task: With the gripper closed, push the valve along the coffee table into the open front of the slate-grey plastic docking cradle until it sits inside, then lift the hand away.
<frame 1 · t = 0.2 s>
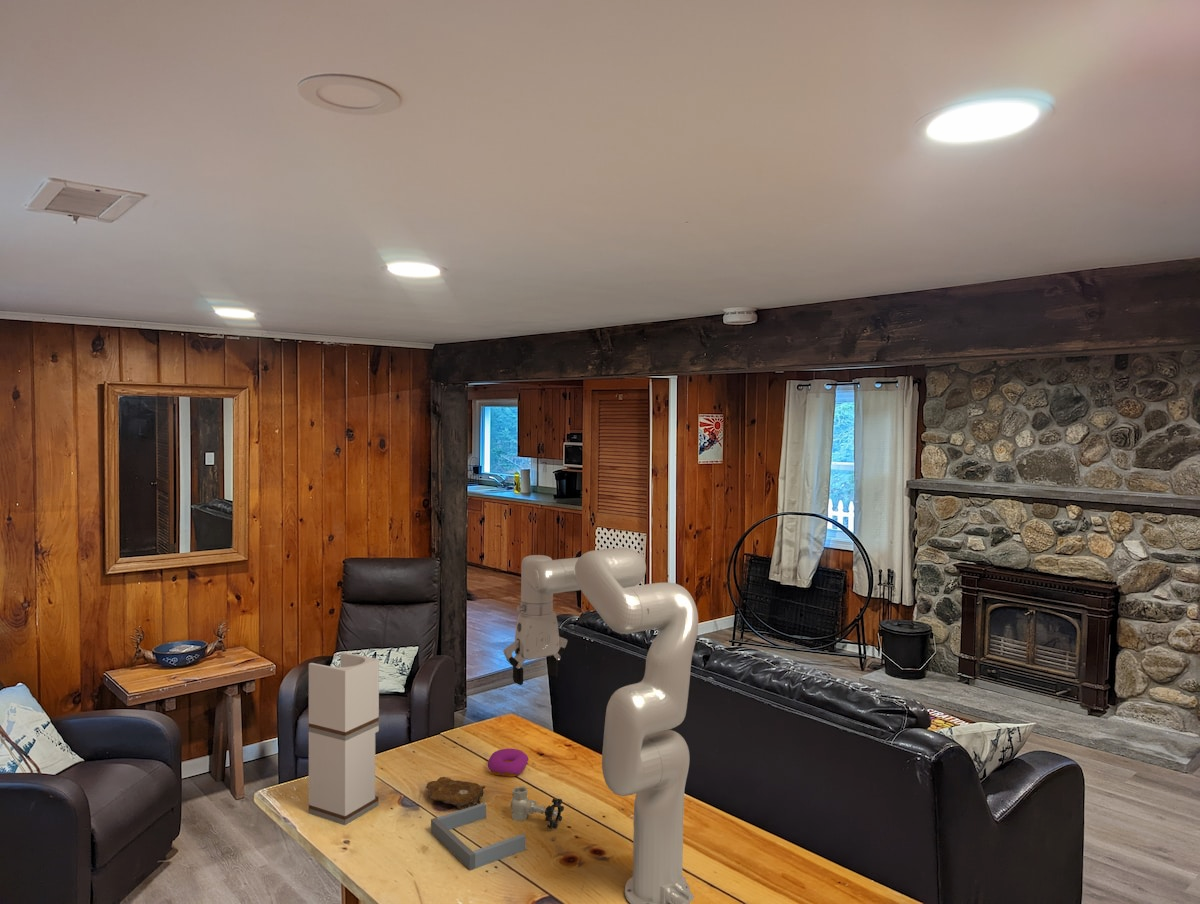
hand: (535, 679, 187), 30 cm above the table, tool pointing down, fingers open, 9 cm apart
dock cradle: (479, 840, 171), on the table
donut: (508, 771, 207), on the table
decorative rock: (452, 800, 190), on the table
valve: (534, 822, 180), on the table
banded square pillar: (344, 810, 184), on the table
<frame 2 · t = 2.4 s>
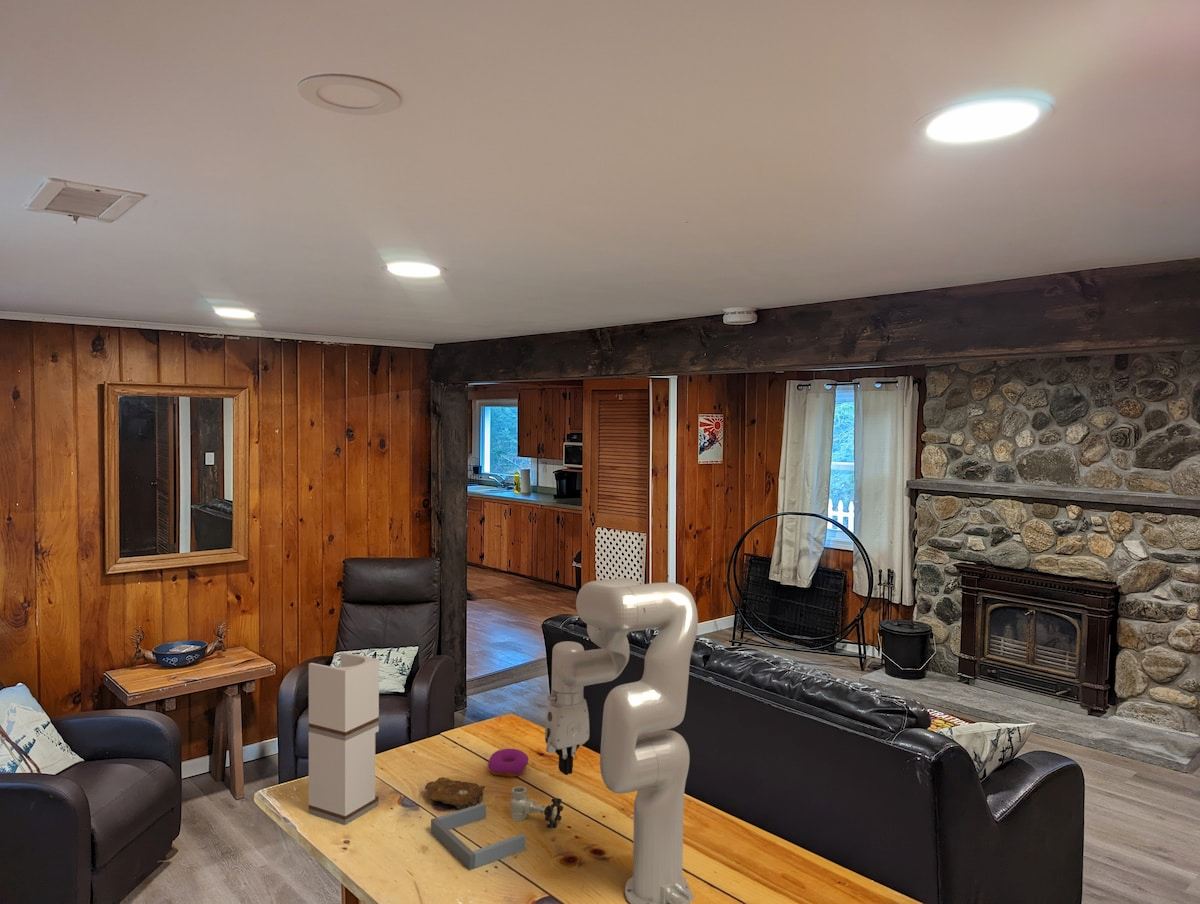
hand: (565, 772, 185), 9 cm above the table, tool pointing down, fingers closed
nothing on the table moved.
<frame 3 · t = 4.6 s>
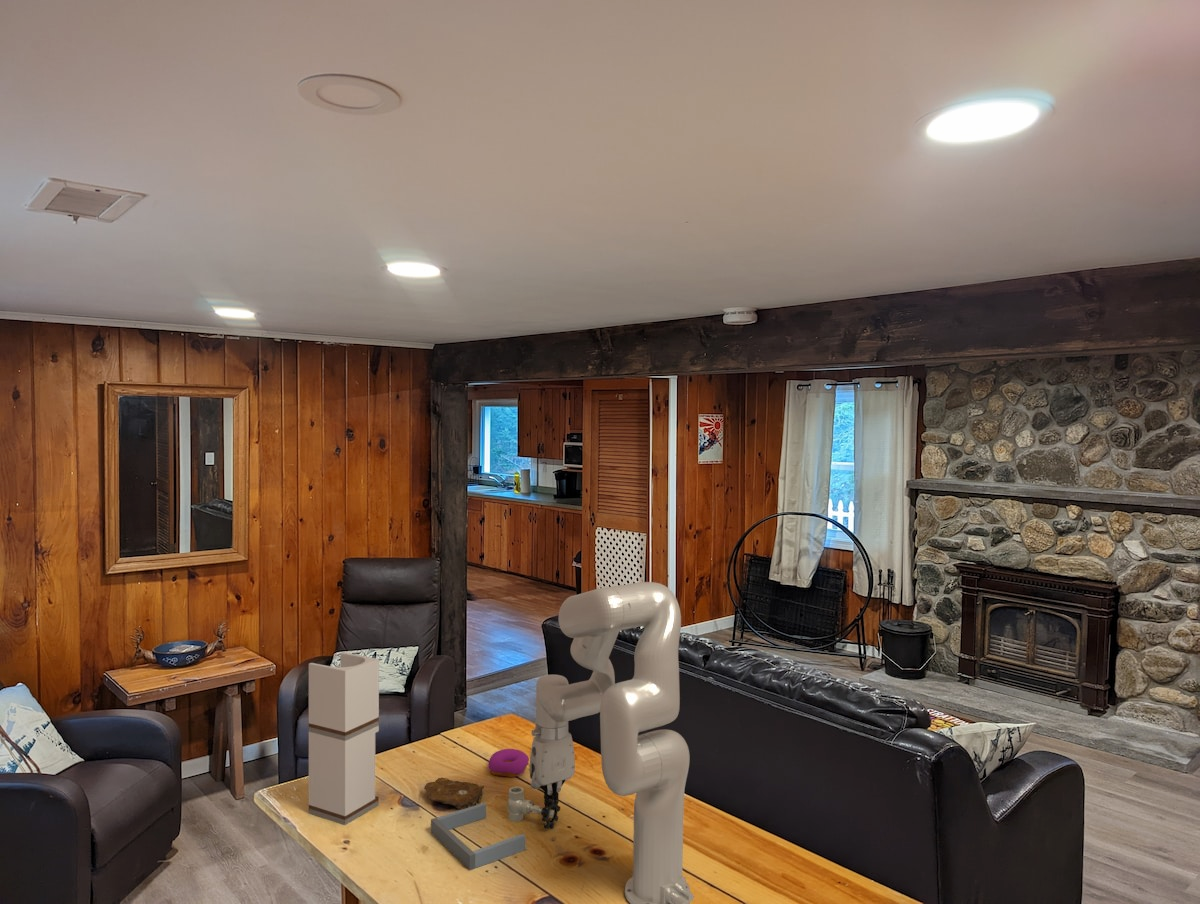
hand: (551, 808, 183), 2 cm above the table, tool pointing down, fingers closed
nothing on the table moved.
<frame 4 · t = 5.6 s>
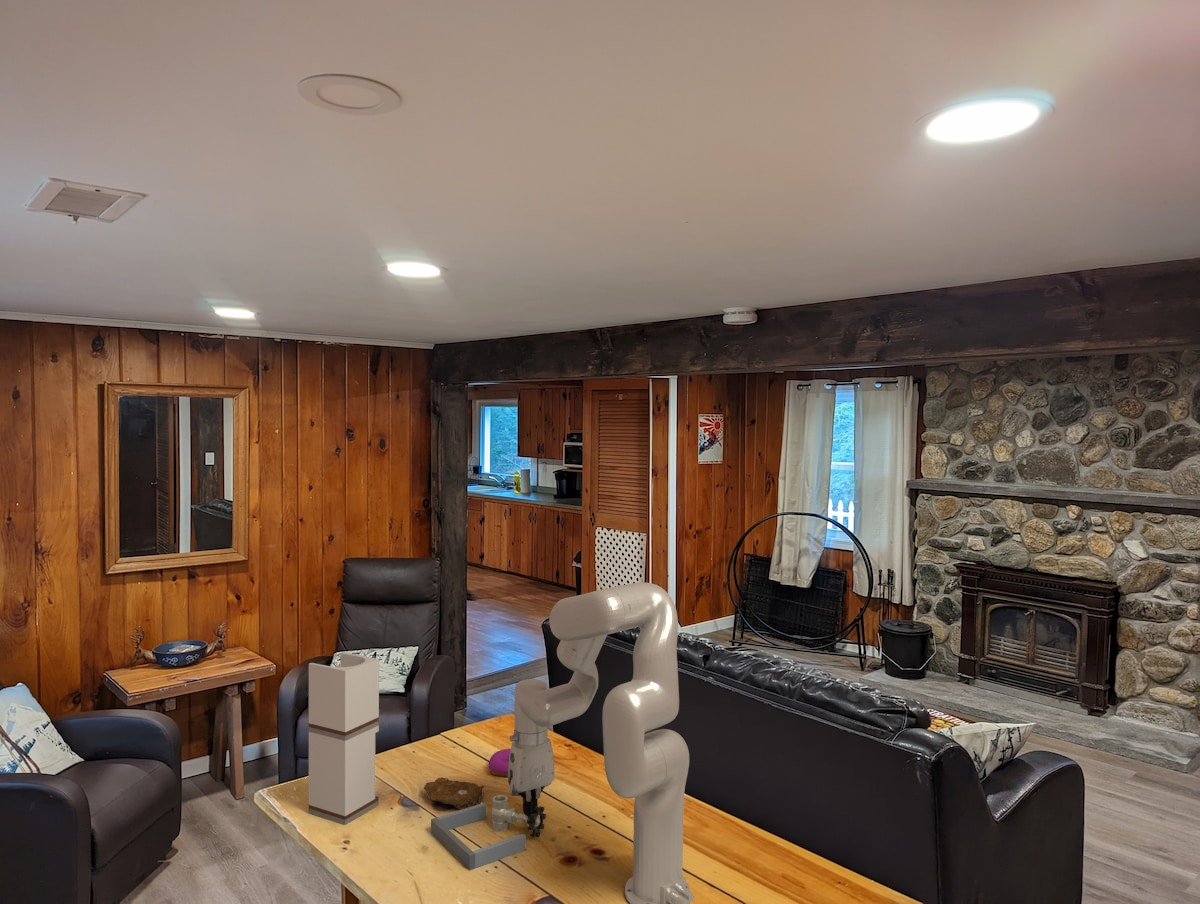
hand: (530, 815, 179), 2 cm above the table, tool pointing down, fingers closed
valve: (515, 831, 175), on the table
everything else where it was.
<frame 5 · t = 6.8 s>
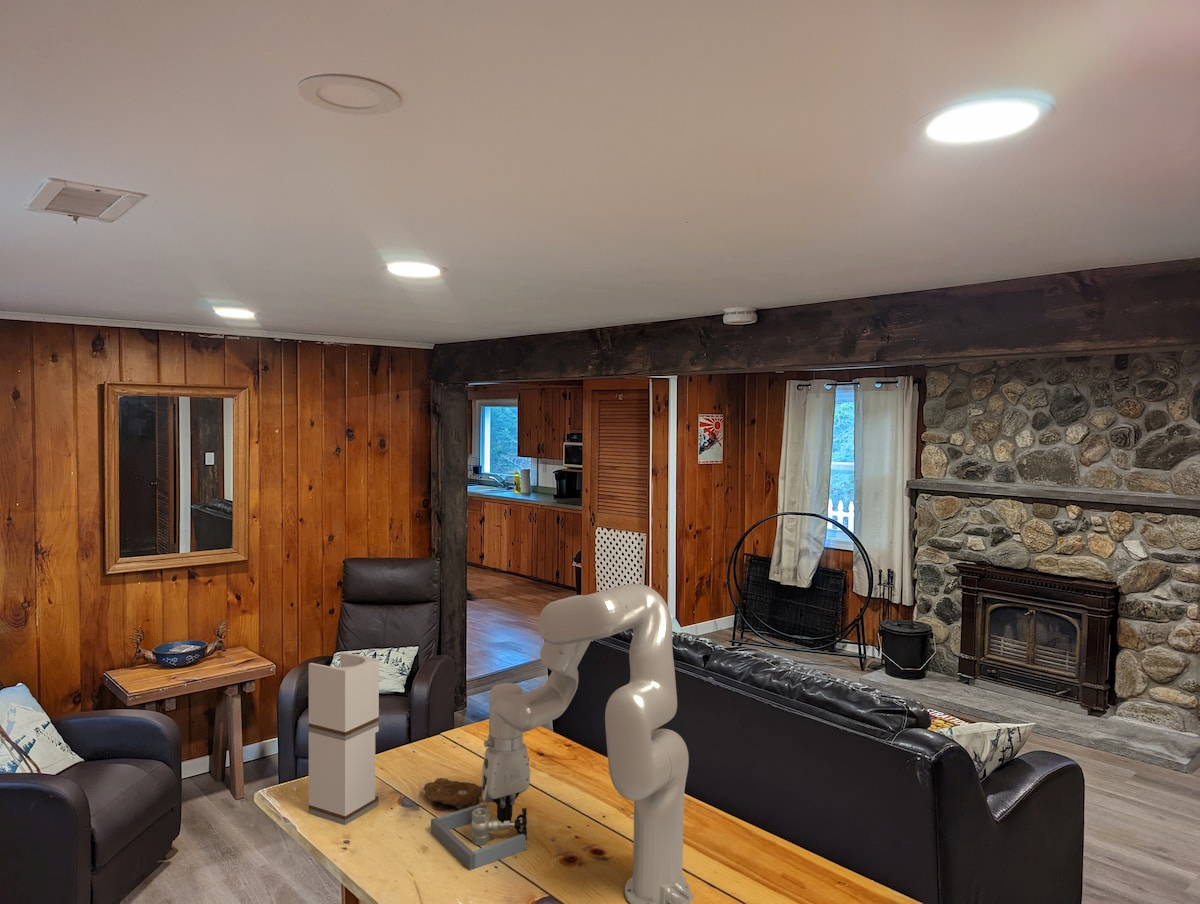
hand: (504, 821, 175), 2 cm above the table, tool pointing down, fingers closed
valve: (498, 840, 171), on the table, touching dock cradle, gripper
everything else where it was.
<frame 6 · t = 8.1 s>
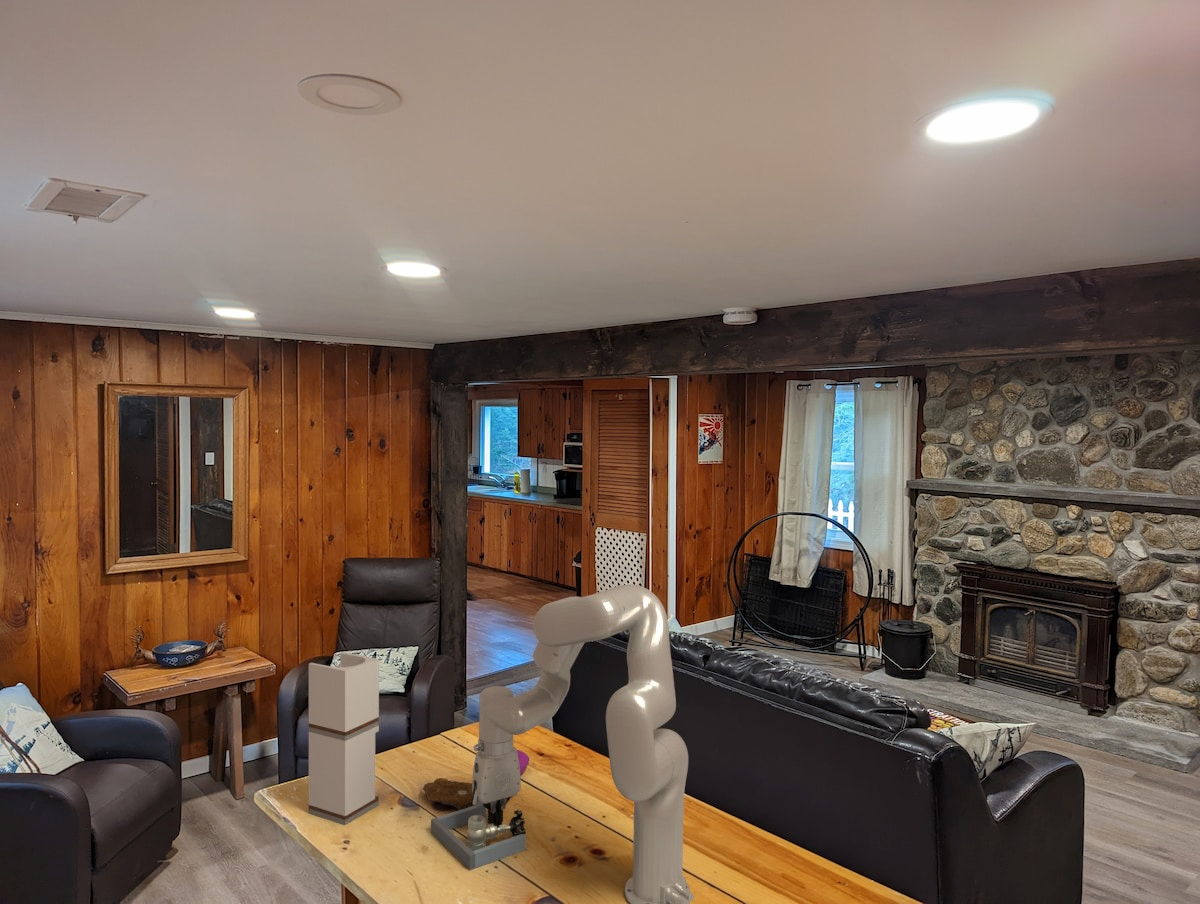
hand: (495, 826, 174), 2 cm above the table, tool pointing down, fingers closed
valve: (494, 846, 169), on the table, touching dock cradle
everything else where it was.
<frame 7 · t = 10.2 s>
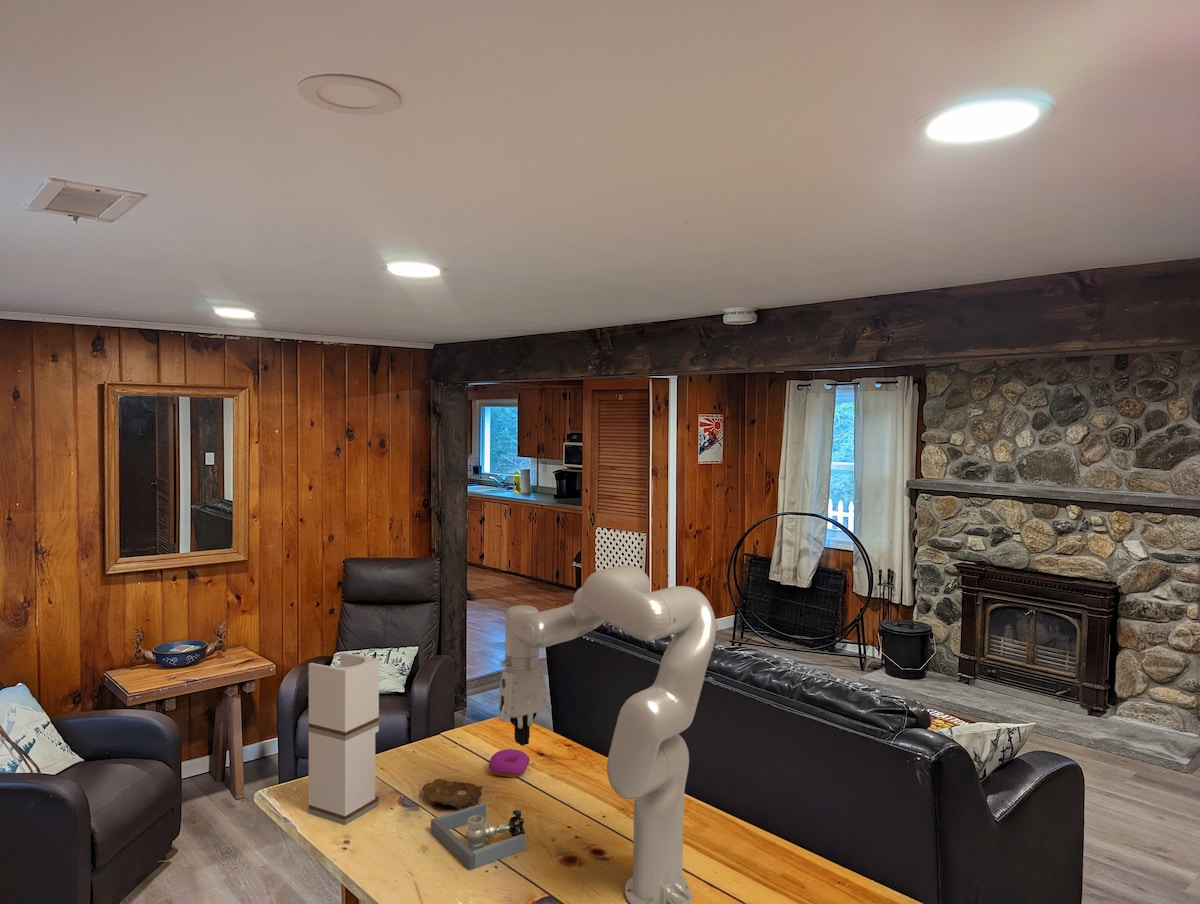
hand: (522, 742, 177), 19 cm above the table, tool pointing down, fingers closed
valve: (493, 846, 169), on the table
everything else where it was.
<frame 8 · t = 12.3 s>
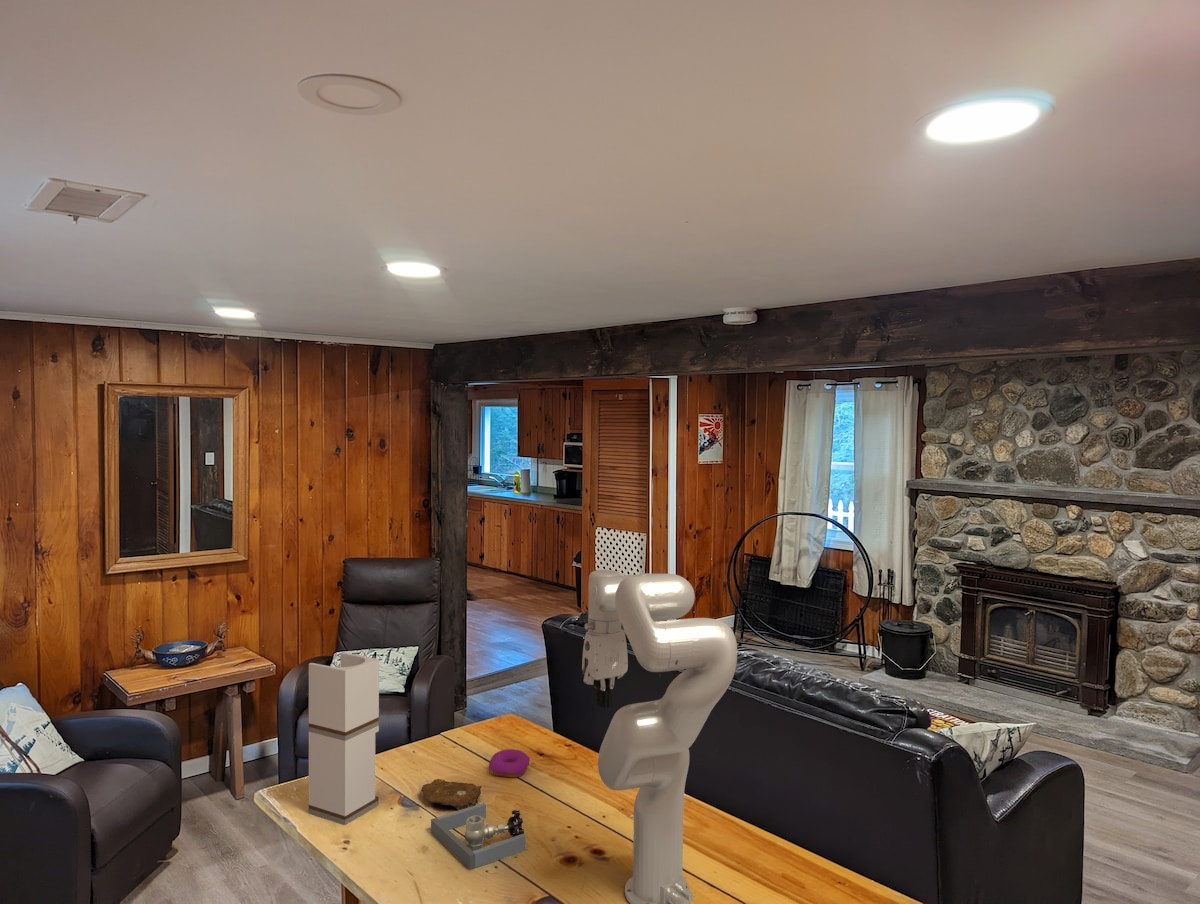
hand: (603, 705, 178), 27 cm above the table, tool pointing down, fingers closed
at the end: valve inside the target area on the dock cradle (4.2 cm from its centre), point 0.0 cm above the dock cradle's base; valve moved 13.2 cm from its start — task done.
